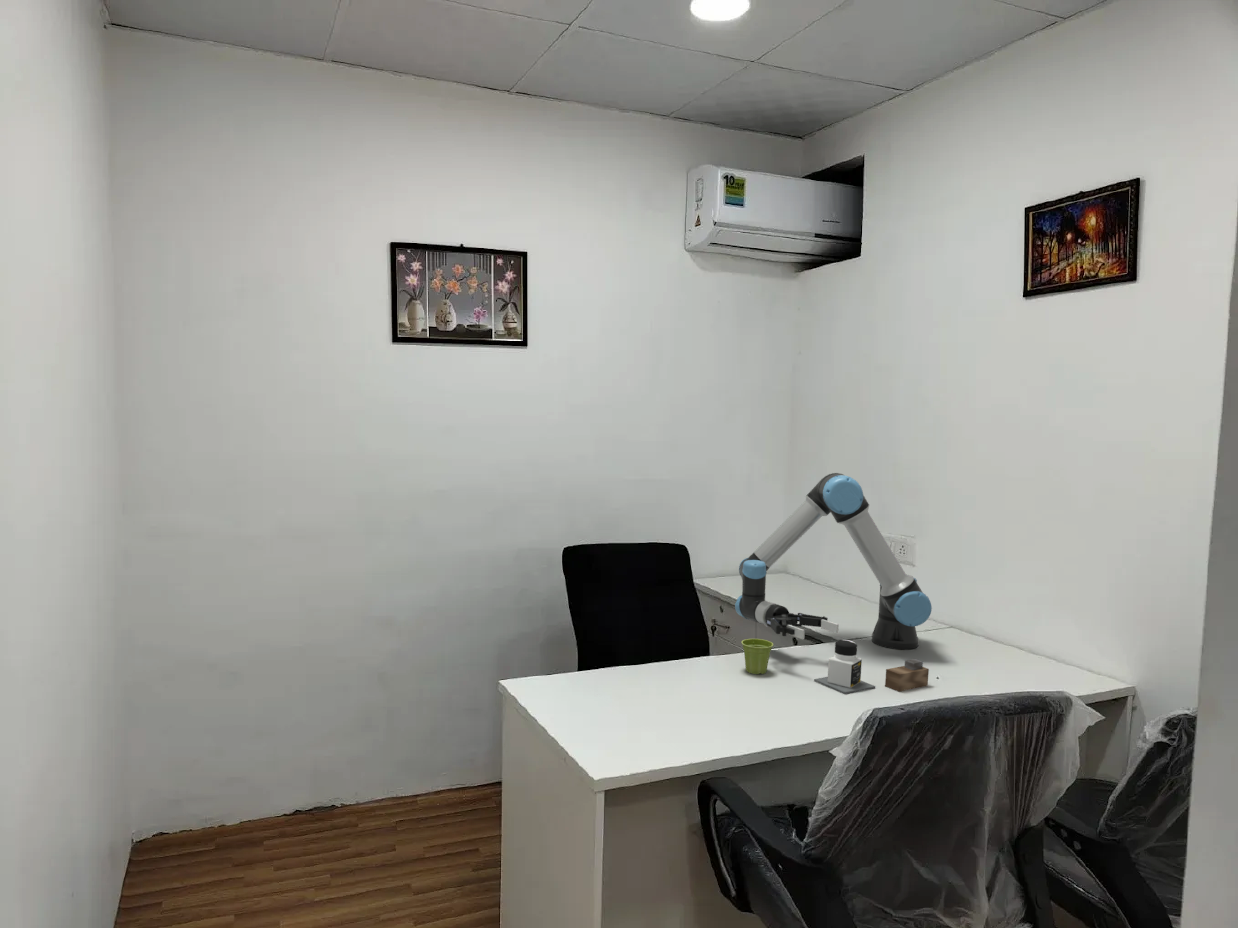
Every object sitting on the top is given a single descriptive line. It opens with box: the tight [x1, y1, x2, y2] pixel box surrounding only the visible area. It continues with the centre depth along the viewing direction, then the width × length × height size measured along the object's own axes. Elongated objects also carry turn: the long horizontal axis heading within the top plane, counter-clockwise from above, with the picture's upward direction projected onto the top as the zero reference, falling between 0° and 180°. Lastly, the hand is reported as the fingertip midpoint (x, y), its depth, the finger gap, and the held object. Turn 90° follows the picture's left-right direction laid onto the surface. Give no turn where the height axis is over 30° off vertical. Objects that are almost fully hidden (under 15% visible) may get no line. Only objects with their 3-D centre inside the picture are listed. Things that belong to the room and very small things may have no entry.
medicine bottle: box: [827, 639, 862, 688], centre depth 240 cm, size 7×7×12 cm
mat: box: [813, 676, 876, 695], centre depth 241 cm, size 12×12×1 cm
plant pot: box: [741, 638, 774, 675], centre depth 249 cm, size 9×9×9 cm
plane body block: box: [884, 658, 930, 693], centre depth 241 cm, size 12×5×7 cm, turn 120°
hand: (820, 631), depth 248 cm, fingers open, 13 cm apart
